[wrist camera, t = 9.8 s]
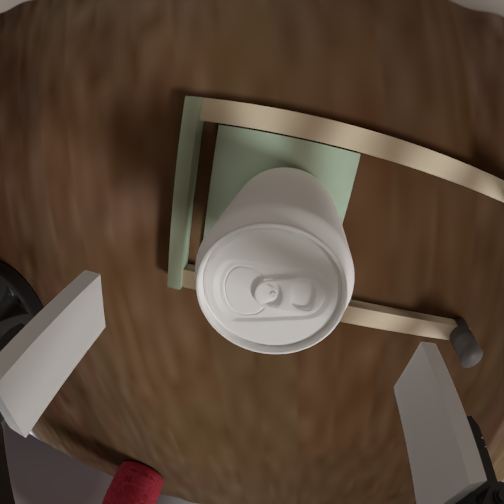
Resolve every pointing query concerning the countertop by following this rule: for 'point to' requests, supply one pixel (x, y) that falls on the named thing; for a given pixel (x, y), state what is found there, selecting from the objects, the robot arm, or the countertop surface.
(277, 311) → the beverage can
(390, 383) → the countertop surface
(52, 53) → the countertop surface
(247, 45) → the countertop surface
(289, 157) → the bay
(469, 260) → the countertop surface
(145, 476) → the wine bottle
